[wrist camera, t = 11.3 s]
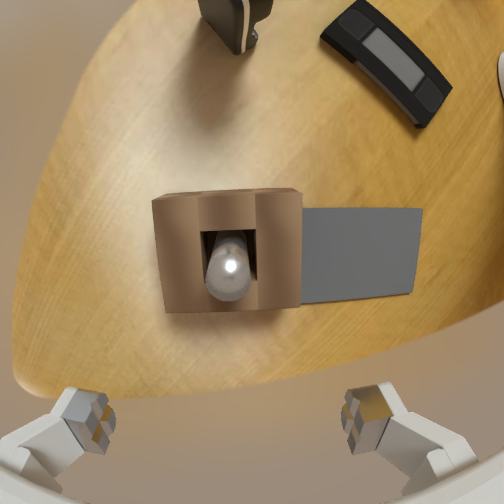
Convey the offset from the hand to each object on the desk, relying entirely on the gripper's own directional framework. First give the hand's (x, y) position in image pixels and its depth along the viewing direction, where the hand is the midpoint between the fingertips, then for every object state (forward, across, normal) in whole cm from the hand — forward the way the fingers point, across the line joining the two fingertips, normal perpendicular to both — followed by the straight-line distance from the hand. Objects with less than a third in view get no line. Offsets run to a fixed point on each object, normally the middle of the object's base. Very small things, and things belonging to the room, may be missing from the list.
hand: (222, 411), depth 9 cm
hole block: (+22, 0, 0) cm, 22 cm away
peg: (+22, 0, 0) cm, 22 cm away
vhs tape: (+23, -17, -19) cm, 34 cm away
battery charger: (+22, -1, -22) cm, 31 cm away
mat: (+22, -14, +2) cm, 26 cm away
